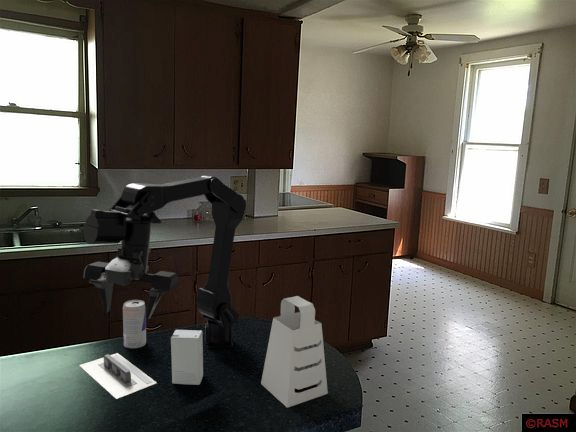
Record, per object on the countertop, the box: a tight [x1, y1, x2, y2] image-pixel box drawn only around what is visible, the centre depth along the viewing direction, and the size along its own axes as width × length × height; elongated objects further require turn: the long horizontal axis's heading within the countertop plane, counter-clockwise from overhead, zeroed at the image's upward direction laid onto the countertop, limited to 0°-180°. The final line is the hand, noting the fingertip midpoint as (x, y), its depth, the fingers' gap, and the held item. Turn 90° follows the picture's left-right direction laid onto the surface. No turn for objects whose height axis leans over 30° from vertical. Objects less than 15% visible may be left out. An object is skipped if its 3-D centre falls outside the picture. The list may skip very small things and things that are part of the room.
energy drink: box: [122, 299, 147, 349], centre depth 115 cm, size 5×5×12 cm
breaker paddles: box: [104, 353, 131, 384], centre depth 101 cm, size 1×10×2 cm, turn 46°
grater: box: [260, 295, 329, 408], centre depth 99 cm, size 10×10×20 cm
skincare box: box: [170, 329, 204, 386], centre depth 99 cm, size 6×4×12 cm
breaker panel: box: [78, 352, 158, 400], centre depth 101 cm, size 9×18×2 cm, turn 46°
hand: (127, 315), depth 99 cm, fingers open, 9 cm apart
